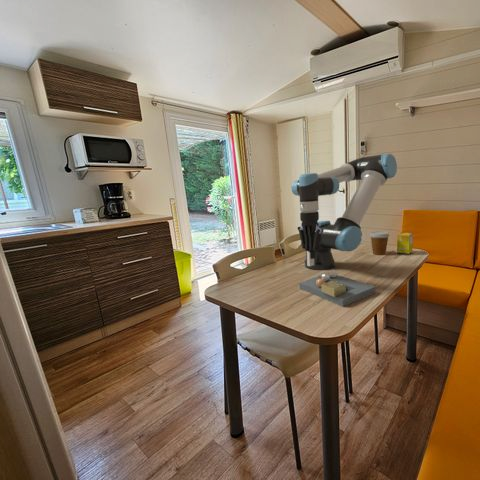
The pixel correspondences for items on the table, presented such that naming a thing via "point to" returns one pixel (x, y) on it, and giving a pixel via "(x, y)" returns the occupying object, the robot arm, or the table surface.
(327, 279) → the steel ball
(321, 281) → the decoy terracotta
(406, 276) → the table surface
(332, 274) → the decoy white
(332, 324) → the table surface
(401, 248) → the supplement box
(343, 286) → the brass cover
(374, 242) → the disposable coffee cup
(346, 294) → the slate plate
